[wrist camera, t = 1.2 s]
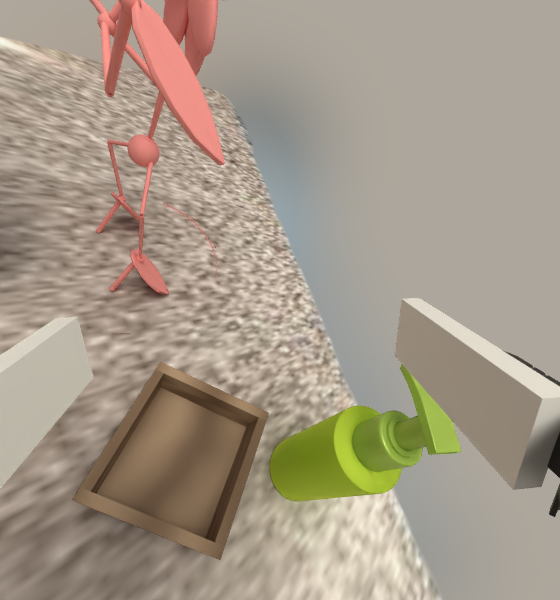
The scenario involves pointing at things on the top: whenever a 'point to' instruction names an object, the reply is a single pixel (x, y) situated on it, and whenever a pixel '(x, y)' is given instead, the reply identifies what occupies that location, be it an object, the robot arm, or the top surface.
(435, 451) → the soap dispenser
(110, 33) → the figurine
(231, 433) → the walnut caddy
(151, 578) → the top surface
